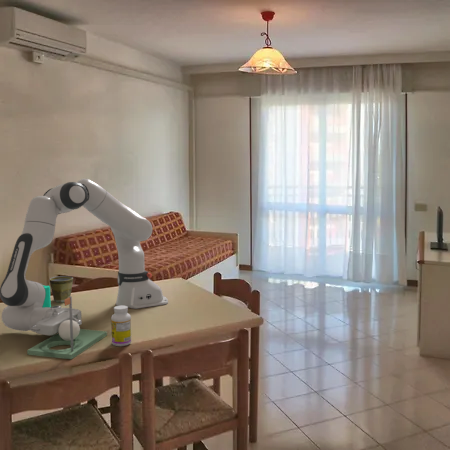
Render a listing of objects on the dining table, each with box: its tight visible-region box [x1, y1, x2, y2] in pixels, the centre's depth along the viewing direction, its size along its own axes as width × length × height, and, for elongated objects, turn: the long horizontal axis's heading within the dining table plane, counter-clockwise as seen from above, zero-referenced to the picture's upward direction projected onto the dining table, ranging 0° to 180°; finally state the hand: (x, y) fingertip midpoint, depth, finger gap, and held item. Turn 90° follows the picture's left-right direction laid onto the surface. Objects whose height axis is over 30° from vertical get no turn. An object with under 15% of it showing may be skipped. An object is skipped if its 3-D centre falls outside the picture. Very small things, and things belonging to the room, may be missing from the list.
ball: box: [58, 320, 81, 341], centre depth 186 cm, size 7×7×7 cm
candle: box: [42, 284, 52, 308], centre depth 226 cm, size 6×6×12 cm
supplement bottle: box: [110, 305, 132, 347], centre depth 187 cm, size 7×7×13 cm
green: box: [27, 296, 108, 360], centre depth 185 cm, size 24×16×20 cm, turn 165°
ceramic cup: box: [48, 275, 74, 303], centre depth 244 cm, size 13×10×10 cm
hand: (79, 323), depth 192 cm, fingers closed
